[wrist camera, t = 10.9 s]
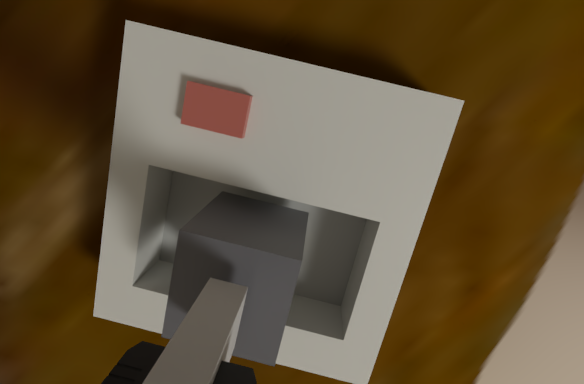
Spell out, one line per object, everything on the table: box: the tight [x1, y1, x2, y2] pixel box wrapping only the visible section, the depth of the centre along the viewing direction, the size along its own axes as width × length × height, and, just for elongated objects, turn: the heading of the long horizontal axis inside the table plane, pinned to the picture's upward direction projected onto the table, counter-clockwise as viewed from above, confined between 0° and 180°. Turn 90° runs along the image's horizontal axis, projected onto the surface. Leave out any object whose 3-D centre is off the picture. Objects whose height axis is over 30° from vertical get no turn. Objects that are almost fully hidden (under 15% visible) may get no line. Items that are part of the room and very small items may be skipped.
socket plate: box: [93, 20, 464, 384], centre depth 21 cm, size 16×16×5 cm
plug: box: [161, 191, 309, 366], centre depth 19 cm, size 5×5×8 cm
